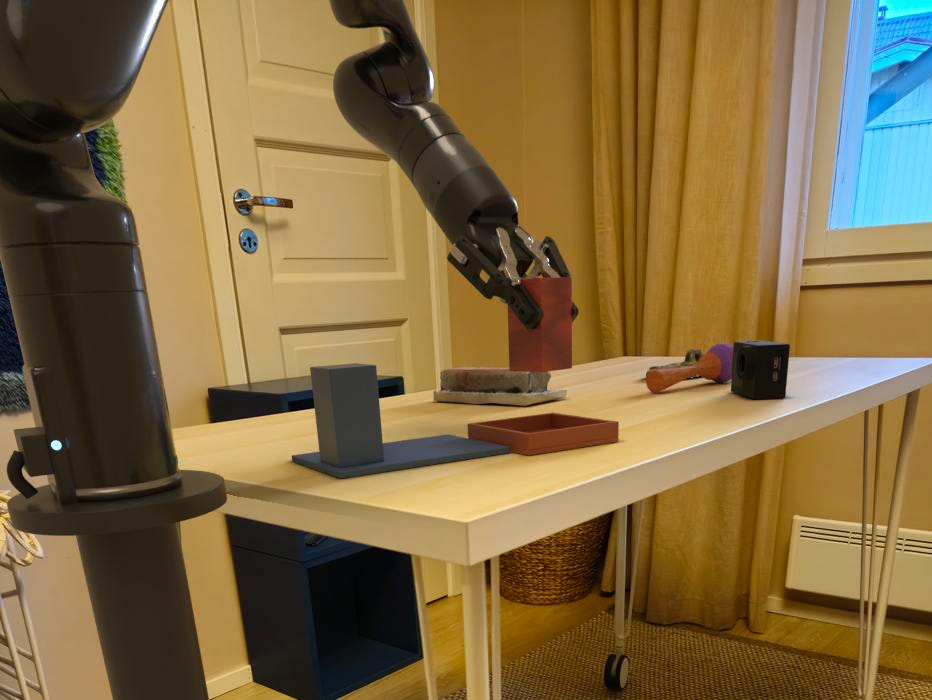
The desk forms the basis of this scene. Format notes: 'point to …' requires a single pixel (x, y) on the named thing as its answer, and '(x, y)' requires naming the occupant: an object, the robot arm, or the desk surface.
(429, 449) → the blue mat
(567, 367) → the red block
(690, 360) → the seal
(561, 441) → the red tray
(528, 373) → the weathered brick on slab
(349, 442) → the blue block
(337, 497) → the desk surface
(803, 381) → the desk surface
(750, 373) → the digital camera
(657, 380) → the orange and purple microphone
